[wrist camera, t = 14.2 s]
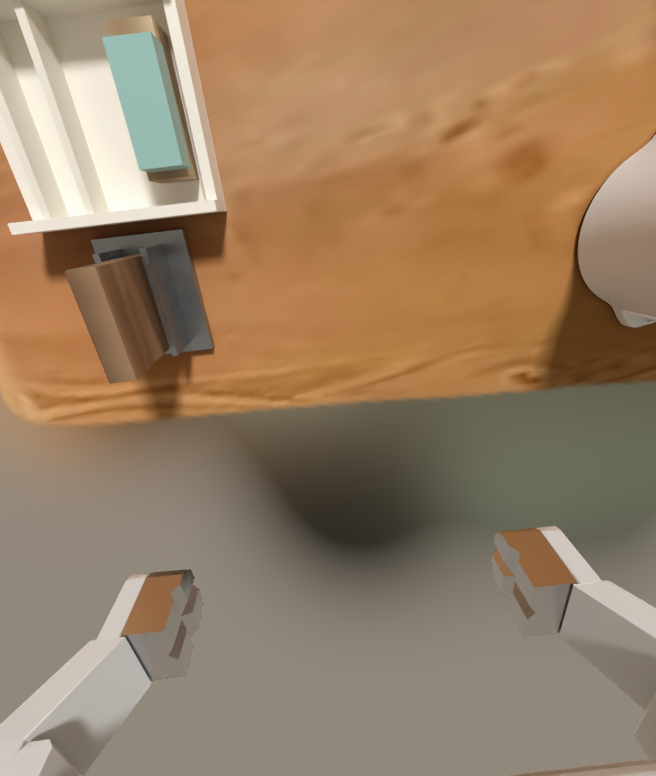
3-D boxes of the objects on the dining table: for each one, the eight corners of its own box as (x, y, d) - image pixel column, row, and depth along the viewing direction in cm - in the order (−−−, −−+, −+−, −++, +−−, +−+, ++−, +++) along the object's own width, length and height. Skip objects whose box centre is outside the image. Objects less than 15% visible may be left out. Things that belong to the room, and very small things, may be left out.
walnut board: (154, 252, 32) (95, 267, 23) (179, 338, 36) (136, 380, 27) (132, 254, 32) (64, 270, 23) (159, 340, 36) (109, 383, 27)
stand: (184, 229, 32) (165, 231, 28) (214, 346, 37) (202, 363, 33) (95, 239, 32) (62, 243, 28) (136, 355, 37) (113, 373, 33)
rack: (182, -7, 26) (162, -43, 22) (226, 211, 32) (216, 210, 28) (-41, 19, 26) (-98, -12, 22) (45, 232, 32) (12, 234, 28)
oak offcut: (167, 35, 26) (150, 15, 23) (199, 179, 30) (188, 176, 27) (125, 40, 26) (104, 20, 23) (163, 183, 30) (148, 180, 27)
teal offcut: (162, 45, 24) (150, 31, 22) (190, 168, 27) (182, 164, 25) (117, 50, 24) (101, 37, 22) (150, 172, 27) (139, 169, 25)
